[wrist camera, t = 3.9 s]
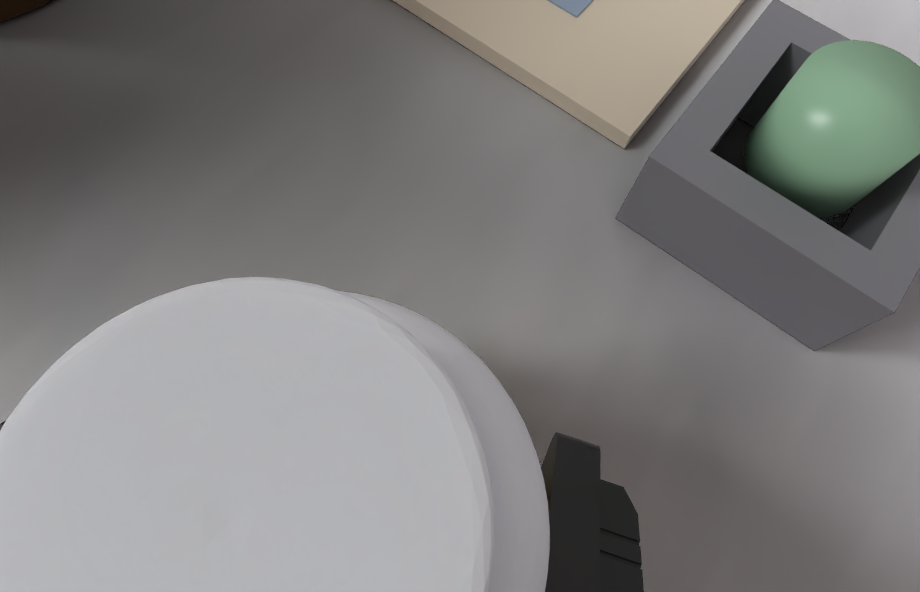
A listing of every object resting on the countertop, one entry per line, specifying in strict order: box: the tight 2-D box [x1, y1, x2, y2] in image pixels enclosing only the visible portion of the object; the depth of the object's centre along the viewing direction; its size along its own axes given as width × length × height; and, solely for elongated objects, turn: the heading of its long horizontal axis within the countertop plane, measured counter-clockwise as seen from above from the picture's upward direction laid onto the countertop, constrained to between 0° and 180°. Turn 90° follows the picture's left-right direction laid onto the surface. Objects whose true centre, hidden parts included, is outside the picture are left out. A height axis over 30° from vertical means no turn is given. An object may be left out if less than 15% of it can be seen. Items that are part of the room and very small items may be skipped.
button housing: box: [616, 0, 920, 351], centre depth 16 cm, size 6×6×3 cm
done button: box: [744, 40, 920, 218], centre depth 14 cm, size 3×3×2 cm
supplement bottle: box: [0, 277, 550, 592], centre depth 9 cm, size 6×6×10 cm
